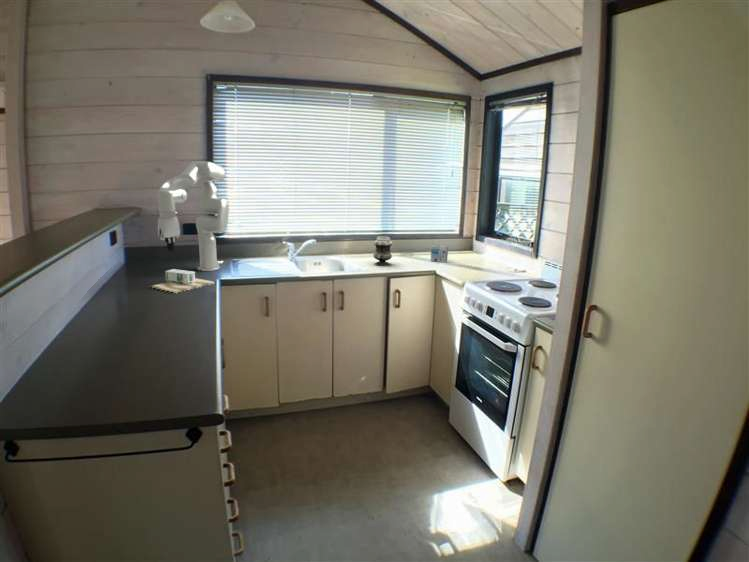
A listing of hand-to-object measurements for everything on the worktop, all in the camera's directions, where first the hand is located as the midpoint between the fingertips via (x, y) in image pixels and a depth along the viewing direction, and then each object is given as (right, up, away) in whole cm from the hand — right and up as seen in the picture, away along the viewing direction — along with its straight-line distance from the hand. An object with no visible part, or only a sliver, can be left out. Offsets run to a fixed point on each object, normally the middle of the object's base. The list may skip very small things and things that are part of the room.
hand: (171, 250), depth 244 cm
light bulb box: (+149, -3, +82) cm, 170 cm away
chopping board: (+7, -18, -1) cm, 20 cm away
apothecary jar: (+110, -5, +67) cm, 128 cm away
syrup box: (-3, -13, +4) cm, 14 cm away
